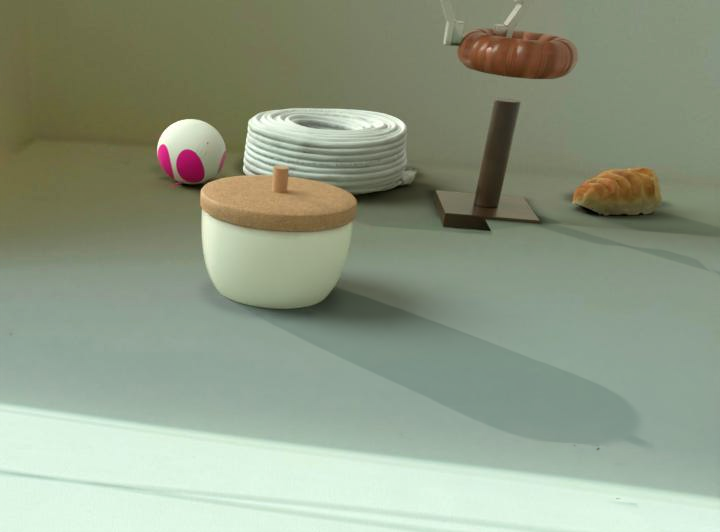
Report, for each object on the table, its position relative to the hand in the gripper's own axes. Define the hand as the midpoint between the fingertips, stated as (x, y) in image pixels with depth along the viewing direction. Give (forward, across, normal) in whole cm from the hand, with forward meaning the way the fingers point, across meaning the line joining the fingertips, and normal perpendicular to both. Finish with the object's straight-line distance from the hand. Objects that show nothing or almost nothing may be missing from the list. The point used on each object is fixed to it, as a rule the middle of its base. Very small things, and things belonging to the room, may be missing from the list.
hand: (475, 47), depth 82 cm
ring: (0, -4, 0) cm, 4 cm away
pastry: (+14, -19, -8) cm, 25 cm away
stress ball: (+14, +26, -4) cm, 30 cm away
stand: (+14, -4, 0) cm, 15 cm away
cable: (+14, +12, -10) cm, 21 cm away
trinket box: (+14, +16, +31) cm, 38 cm away
